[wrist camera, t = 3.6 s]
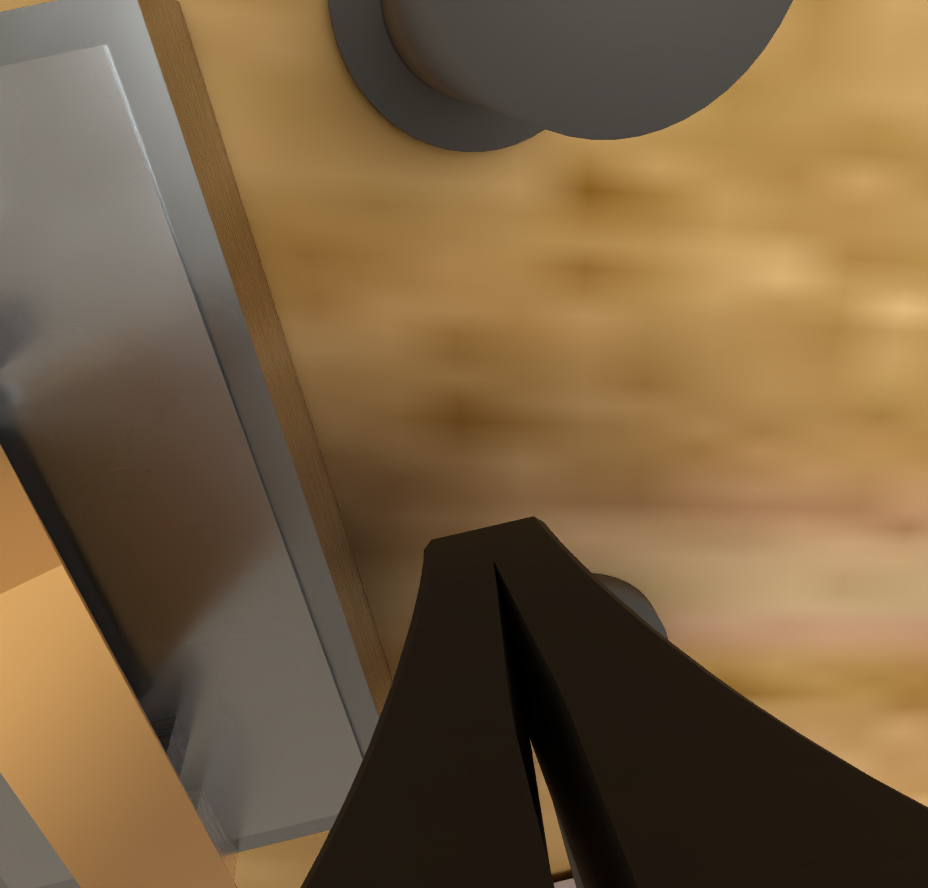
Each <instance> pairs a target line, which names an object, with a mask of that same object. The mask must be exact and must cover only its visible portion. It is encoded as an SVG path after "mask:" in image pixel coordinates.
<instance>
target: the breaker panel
mask: <svg viewBox="0 0 928 888" xmlns="http://www.w3.org/2000/svg"><path fill="white" fill-rule="evenodd" d="M0 444H1V446H2V448H3V450H4V452H5V454H6V456H7V457H8V459H9V461H10V463H11V465H12V467H13V469H14V470H15V472H16V474H17V476H18V478H19V480H20V482H21V483H22V485H23V487H24V489H25V491H26V493H27V495H28V496H29V498H30V500H31V502H32V504H33V506H34V508H35V509H36V511H37V513H38V515H39V517H40V519H41V521H42V522H43V524H44V526H45V528H46V530H47V532H48V534H49V536H50V537H51V539H52V541H53V543H54V545H55V547H56V549H57V550H58V552H59V554H60V556H61V558H62V560H63V562H64V563H65V565H66V567H67V569H68V571H69V573H70V575H71V576H72V578H73V580H74V582H75V584H76V586H77V588H78V589H79V591H80V593H81V595H82V597H83V599H84V601H85V602H86V604H87V606H88V608H89V610H90V612H91V614H92V615H93V617H94V619H95V621H96V623H97V625H98V627H99V628H100V630H101V632H102V634H103V636H104V638H105V640H106V641H107V643H108V645H109V647H110V649H111V651H112V653H113V654H114V656H115V658H116V660H117V662H118V664H119V666H120V667H121V669H122V671H123V673H124V675H125V677H126V679H127V680H128V682H129V684H130V686H131V688H132V690H133V692H134V694H135V695H136V697H137V699H138V701H139V703H140V705H141V707H142V708H143V710H144V712H145V714H146V716H147V718H148V720H149V722H150V724H151V726H152V727H153V729H154V731H155V733H156V735H157V737H158V739H159V741H160V743H161V745H162V746H163V748H164V750H165V752H166V754H167V756H168V758H169V760H170V762H171V764H172V765H173V767H174V769H175V771H176V773H177V775H178V777H179V779H180V781H181V783H182V784H183V786H184V788H185V790H186V792H187V794H188V796H189V798H190V800H191V802H192V803H193V805H194V807H195V809H196V811H197V813H198V815H199V817H200V819H201V821H202V822H203V824H204V826H205V828H206V830H207V832H208V834H209V836H210V838H211V840H212V841H213V843H214V845H215V847H216V849H217V851H218V853H219V855H220V857H221V859H222V860H223V862H224V864H225V866H226V868H227V870H228V872H229V874H230V876H231V878H232V879H233V881H234V876H235V869H236V862H237V855H238V852H241V851H245V850H249V849H253V848H257V847H261V846H265V845H269V844H274V843H278V842H282V841H286V840H290V839H294V838H298V837H302V836H306V835H310V834H314V833H319V832H323V831H327V830H331V828H332V826H333V824H334V822H335V820H336V818H337V816H338V814H339V812H340V809H341V807H342V805H343V803H344V801H345V799H346V797H347V795H348V792H349V790H350V788H351V786H352V783H353V781H354V779H355V777H356V774H357V772H358V770H359V767H360V765H361V763H362V760H363V758H364V756H365V753H366V751H367V749H368V746H369V744H370V741H371V738H372V736H373V733H374V731H375V728H376V725H377V723H378V720H379V717H380V715H381V712H382V709H383V707H384V704H385V701H386V699H387V696H388V694H389V691H390V688H391V686H392V683H393V682H392V679H391V675H390V672H389V669H388V666H387V663H386V660H385V656H384V653H383V650H382V647H381V644H380V640H379V637H378V634H377V631H376V628H375V625H374V621H373V618H372V615H371V612H370V609H369V606H368V602H367V599H366V596H365V593H364V590H363V586H362V583H361V580H360V577H359V574H358V571H357V567H356V564H355V561H354V558H353V555H352V551H351V548H350V545H349V542H348V539H347V536H346V532H345V529H344V526H343V523H342V520H341V516H340V513H339V510H338V507H337V504H336V501H335V497H334V494H333V491H332V488H331V485H330V481H329V478H328V475H327V472H326V469H325V466H324V462H323V459H322V456H321V453H320V450H319V447H318V443H317V440H316V437H315V434H314V431H313V427H312V424H311V421H310V418H309V415H308V412H307V408H306V405H305V402H304V399H303V396H302V392H301V389H300V386H299V383H298V380H297V377H296V373H295V370H294V367H293V364H292V361H291V357H290V354H289V351H288V348H287V345H286V342H285V338H284V335H283V332H282V329H281V326H280V322H279V319H278V316H277V313H276V310H275V307H274V303H273V300H272V297H271V294H270V291H269V287H268V284H267V281H266V278H265V275H264V272H263V268H262V265H261V262H260V259H259V256H258V253H257V249H256V246H255V243H254V240H253V237H252V233H251V230H250V227H249V224H248V221H247V218H246V214H245V211H244V208H243V205H242V202H241V198H240V195H239V192H238V189H237V186H236V183H235V179H234V176H233V173H232V170H231V167H230V163H229V160H228V157H227V154H226V151H225V148H224V144H223V141H222V138H221V135H220V132H219V128H218V125H217V122H216V119H215V116H214V113H213V109H212V106H211V103H210V100H209V97H208V93H207V90H206V87H205V84H204V81H203V78H202V74H201V71H200V68H199V65H198V62H197V59H196V55H195V52H194V49H193V46H192V43H191V39H190V36H189V33H188V30H187V27H186V24H185V20H184V17H183V14H182V11H181V8H180V4H179V1H176V0H56V1H52V2H47V3H42V4H37V5H32V6H27V7H22V8H18V9H13V10H8V11H3V12H0ZM0 888H81V887H80V886H79V884H78V883H77V881H76V880H75V878H74V877H73V876H72V874H71V873H70V871H69V870H68V868H67V867H66V866H65V864H64V863H63V861H62V860H61V858H60V857H59V856H58V854H57V853H56V851H55V850H54V848H53V847H52V846H51V844H50V843H49V841H48V840H47V838H46V837H45V836H44V834H43V833H42V831H41V830H40V828H39V827H38V826H37V824H36V823H35V821H34V820H33V818H32V817H31V816H30V814H29V813H28V811H27V810H26V808H25V807H24V806H23V804H22V803H21V801H20V800H19V798H18V797H17V796H16V794H15V793H14V791H13V790H12V788H11V787H10V786H9V784H8V783H7V781H6V780H5V778H4V777H3V776H2V774H1V773H0Z"/></svg>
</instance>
